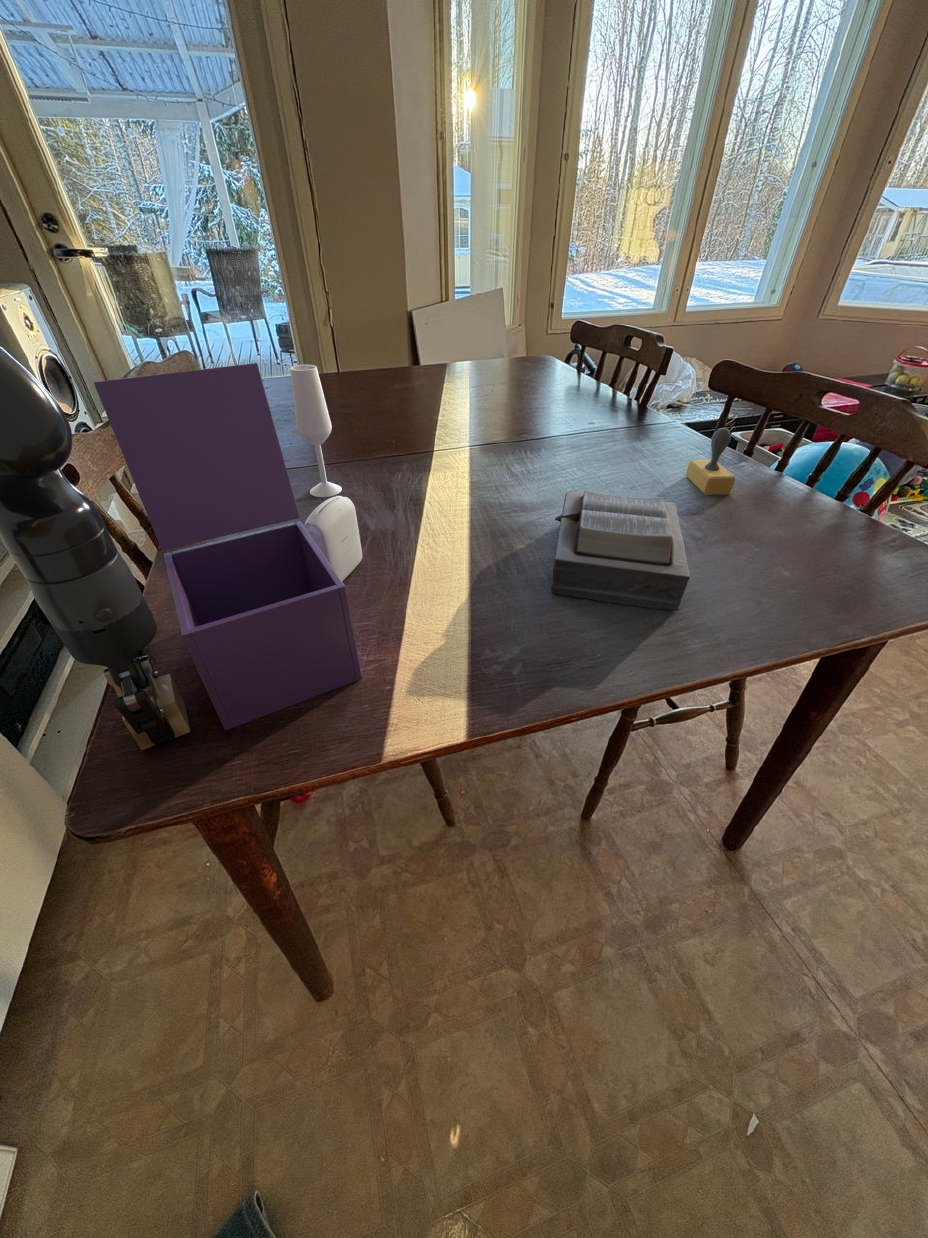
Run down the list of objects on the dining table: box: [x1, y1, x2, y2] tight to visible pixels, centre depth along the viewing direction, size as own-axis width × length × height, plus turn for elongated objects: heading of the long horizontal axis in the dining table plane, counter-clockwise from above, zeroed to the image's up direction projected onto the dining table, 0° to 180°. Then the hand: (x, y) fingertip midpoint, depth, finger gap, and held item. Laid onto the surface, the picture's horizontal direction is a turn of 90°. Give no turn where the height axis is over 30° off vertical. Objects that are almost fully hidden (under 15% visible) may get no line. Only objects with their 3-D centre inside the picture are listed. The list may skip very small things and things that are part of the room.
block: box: [121, 673, 191, 751], centre depth 57 cm, size 5×5×5 cm
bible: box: [550, 489, 691, 611], centre depth 83 cm, size 23×27×10 cm
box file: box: [163, 520, 363, 731], centre depth 63 cm, size 18×17×14 cm
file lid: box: [93, 362, 301, 551], centre depth 60 cm, size 18×17×1 cm
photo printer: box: [303, 495, 363, 582], centre depth 80 cm, size 10×4×12 cm, turn 160°
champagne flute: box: [289, 364, 343, 498], centre depth 101 cm, size 7×7×24 cm
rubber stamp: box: [685, 427, 736, 496], centre depth 106 cm, size 10×6×12 cm, turn 4°
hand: (162, 722), depth 58 cm, fingers closed on block, 5 cm apart
